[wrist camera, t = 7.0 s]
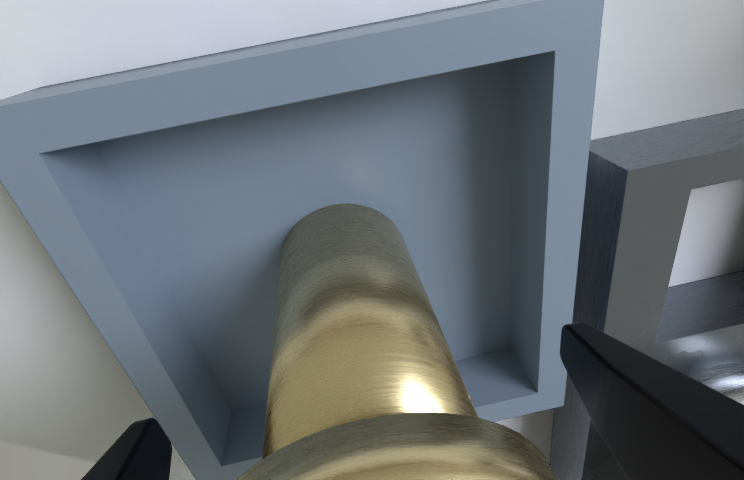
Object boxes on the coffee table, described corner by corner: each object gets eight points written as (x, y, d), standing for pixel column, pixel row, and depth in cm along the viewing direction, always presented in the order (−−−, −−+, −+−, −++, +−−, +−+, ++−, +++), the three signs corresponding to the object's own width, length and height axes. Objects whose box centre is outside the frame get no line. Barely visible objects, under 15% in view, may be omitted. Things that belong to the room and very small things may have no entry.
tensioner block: (727, 427, 23) (837, 538, 18) (549, 469, 23) (614, 594, 18) (869, 82, 14) (1159, 124, 9) (576, 143, 14) (723, 220, 9)
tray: (525, 346, 18) (563, 405, 15) (217, 416, 17) (202, 489, 15) (535, -9, 11) (605, -12, 9) (40, 87, 11) (-44, 114, 8)
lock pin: (434, 307, 15) (580, 651, 7) (283, 341, 15) (260, 734, 7) (417, 164, 12) (627, 460, 4) (233, 202, 12) (97, 588, 4)
